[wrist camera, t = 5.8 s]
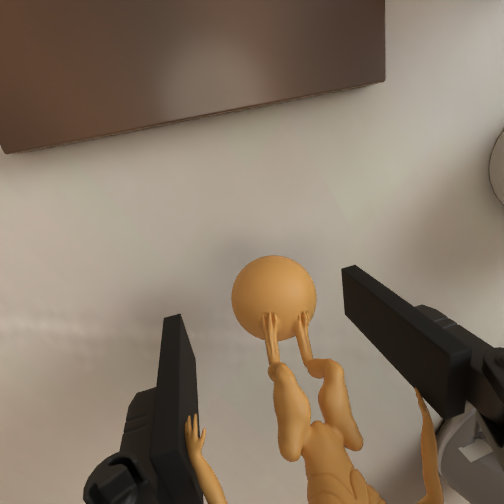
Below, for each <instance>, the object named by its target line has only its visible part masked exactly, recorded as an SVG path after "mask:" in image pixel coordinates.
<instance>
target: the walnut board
mask: <svg viewBox="0 0 504 504" xmlns="http://www.w3.org/2000/svg"><path fill="white" fill-rule="evenodd" d="M384 81H385V0H0V145H1V147H2V149H3V151H4V153H5V154H15V153H23V152H28V151H33V150H38V149H44V148H49V147H54V146H59V145H64V144H69V143H75V142H80V141H85V140H90V139H95V138H100V137H106V136H111V135H116V134H121V133H126V132H131V131H137V130H142V129H147V128H152V127H157V126H162V125H168V124H173V123H178V122H183V121H188V120H193V119H199V118H204V117H209V116H214V115H219V114H224V113H230V112H235V111H240V110H245V109H250V108H255V107H261V106H266V105H271V104H276V103H281V102H286V101H292V100H297V99H302V98H307V97H312V96H317V95H323V94H328V93H333V92H338V91H343V90H348V89H354V88H359V87H364V86H369V85H373V84H377V83H380V82H384Z"/></svg>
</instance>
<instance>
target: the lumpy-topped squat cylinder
mask: <svg viewBox="0 0 504 504" xmlns="http://www.w3.org/2000/svg"><path fill="white" fill-rule="evenodd" d="M489 175H490V181H491V184H492V187H493V190H494V192H495V194H496V196H497V197H498V199H499V200H500V201H501V202H502V203H503V204H504V130H503V132H502V133H501V135H500V137H499V138H498V140H497V142H496V144H495V146H494V149H493V152H492V155H491V159H490V166H489Z"/></svg>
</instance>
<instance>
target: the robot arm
mask: <svg viewBox="0 0 504 504" xmlns="http://www.w3.org/2000/svg"><path fill="white" fill-rule="evenodd" d="M341 271H342V284H343V296H344V309H345V315H346V316H347V317H348V318H349V319H350V320H351V321H352V322H353V323H354V324H355V325H356V327H357V328H358V329H359V330H360V331H361V332H362V333H363V334H364V335H365V336H366V337H367V338H368V339H369V340H370V341H371V343H372V344H373V345H374V346H375V347H376V348H377V349H378V350H379V351H380V352H381V353H382V354H383V355H384V356H385V358H386V359H387V360H388V361H389V362H390V363H391V364H392V365H393V366H394V367H395V368H396V369H397V370H398V371H399V372H400V374H401V375H402V376H403V377H404V378H405V379H406V380H407V381H408V382H409V383H410V384H411V385H412V386H413V387H414V388H417V389H418V391H419V392H420V394H421V396H422V397H423V398H424V399H425V400H426V401H427V402H428V403H429V404H430V406H431V407H432V408H433V409H434V410H435V411H436V412H437V413H438V414H439V415H440V416H441V417H442V418H443V419H444V420H446V421H445V422H444V423H443V425H442V426H441V428H440V429H439V431H438V433H437V435H436V441H437V451H438V472H439V474H440V475H441V476H442V478H443V479H444V480H445V481H446V482H447V483H448V484H449V485H450V486H451V487H452V488H453V489H454V490H455V491H456V492H458V493H459V494H460V495H461V496H462V497H464V498H465V499H466V500H467V501H469V502H470V503H471V504H504V348H501V347H498V348H493V347H492V346H490V345H489V344H487V343H486V342H484V341H483V340H481V339H480V338H478V337H477V336H475V335H474V334H472V333H471V332H469V331H468V330H466V329H465V328H463V327H462V326H460V325H457V323H456V322H454V321H453V320H451V319H450V318H449V319H448V317H447V316H445V315H444V314H442V313H441V312H439V311H438V310H436V309H433V308H431V307H428V306H425V305H419V306H416V307H413V306H412V305H411V304H409V303H408V302H407V301H405V300H404V299H402V298H401V297H400V296H398V295H397V294H395V293H394V292H393V291H391V290H390V289H388V288H387V287H386V286H384V285H383V284H381V283H380V282H379V281H377V280H376V279H374V278H373V277H372V276H370V275H369V274H367V273H366V272H365V271H363V270H362V269H360V268H359V267H358V266H356V265H353V266H349V267H346V268H342V269H341ZM195 414H197V426H198V438H200V431H199V413H198V395H197V377H196V360H195V356H194V353H193V350H192V347H191V344H190V341H189V338H188V335H187V332H186V329H185V326H184V323H183V320H182V317H181V314H177V315H173V316H170V317H166V318H164V322H163V331H162V340H161V349H160V358H159V368H158V377H157V386H156V387H155V388H151V389H148V390H145V391H142V392H138V393H137V394H136V395H135V397H134V398H133V400H132V402H131V403H130V405H129V407H128V412H127V417H126V422H125V427H124V434H123V437H122V441H121V446H120V451H119V452H118V453H115V454H113V455H111V456H109V457H107V458H106V459H105V460H104V461H102V462H101V463H100V464H99V465H98V466H97V467H96V468H95V469H94V471H93V472H92V473H91V475H90V476H89V478H88V480H87V482H86V485H85V487H84V493H83V500H84V501H85V503H86V504H204V502H203V492H202V490H201V488H200V485H199V482H198V479H197V475H196V472H195V470H194V468H193V466H192V463H191V461H190V459H189V455H188V451H187V447H186V441H185V429H184V428H185V422H187V419H188V416H190V418H191V426H192V431H193V421H194V415H195Z"/></svg>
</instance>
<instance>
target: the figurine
mask: <svg viewBox="0 0 504 504" xmlns="http://www.w3.org/2000/svg"><path fill="white" fill-rule="evenodd" d="M231 299H232V307H233V311H234V314H235V316H236V318H237V320H238V322H239V323H240V324H241V326H242V327H243V328H244V329H245V330H246V331H247V332H249V333H250V334H251V335H253V336H255V337H257V338H259V339H262V340H265V343H266V349H267V355H268V361H269V365H270V366H269V368H268V374H269V377H270V378H271V380H272V381H274V393H273V399H274V408H275V412H276V416H277V421H278V444H279V449H280V453H281V455H282V456H283V457H284V458H285V459H286V460H287V461H290V462H295V461H297V460H298V459H299V457H300V455H302V456H303V458H304V460H305V468H306V475H307V479H308V487H307V499H308V502H309V504H386V502H385V501H384V500H383V499H382V498H380V494H379V493H378V492H377V491H376V490H375V489H374V488H373V487H372V486H370V485H367V482H366V481H365V479H364V477H363V476H362V474H361V473H360V472H359V471H358V470H357V469H355V468H354V466H353V464H352V462H351V460H350V458H349V456H348V454H347V452H346V450H345V448H344V447H346V448H348V449H350V450H352V451H359V450H361V449H362V446H363V438H362V436H361V434H360V432H359V430H358V427H357V424H356V422H355V420H354V418H353V416H352V413H351V407H350V403H349V397H348V392H347V388H346V385H345V381H344V370H343V368H342V366H341V365H340V364H338V363H337V362H335V361H333V360H332V359H313V355H312V351H311V346H310V341H309V337H308V326H309V322H310V321H311V319H312V317H313V315H314V312H315V308H316V290H315V286H314V283H313V281H312V279H311V277H310V275H309V274H308V272H307V271H306V270H305V269H304V268H303V267H302V266H301V265H300V264H298V263H297V262H295V261H293V260H291V259H289V258H286V257H283V256H264V257H261V258H258V259H256V260H254V261H252V262H250V263H249V264H248V265H246V266H245V267H244V268H243V269H242V270H241V272H240V273H239V274H238V276H237V278H236V280H235V282H234V285H233V289H232V297H231ZM294 336H296V338H297V342H298V345H299V349H300V353H301V357H302V360H303V363H304V365H305V367H306V368H307V369H308V372H309V374H310V375H311V376H312V377H315V378H319V379H320V378H323V377H324V384H323V386H322V387H321V389H320V391H319V394H318V402H319V406H320V409H321V412H322V415H323V418H324V420H325V424H324V423H322V422H321V421H314V422H313V423H312V424H311V425H310V419H311V409H310V404H309V401H308V398H307V396H306V395H305V393H304V392H303V391H302V389H301V388H300V387H299V385H298V383H297V381H296V378H295V376H294V374H293V372H292V371H291V370H290V369H289V368H288V367H287V365H286V364H285V363H281V362H280V355H279V349H278V341H282V340H286V339H289V338H292V337H294ZM415 391H416V396H417V398H418V404H419V407H420V409H421V412H422V416H423V427H422V434H421V456H422V463H423V480H424V484H425V487H426V495H425V496H424V497H423V498H422V499H421V500H420V501H419V502H418V503H417V504H444V499H443V493H442V488H441V484H440V480H439V475H438V451H437V441H436V437H435V433H434V427H433V422H432V419H431V416H430V413H429V411H428V409H427V407H426V405H425V403H424V401H423V398H422V396H421V394H420V392H419V391H418V389H417V388H415ZM184 429H185V441H186V447H187V451H188V455H189V459H190V461H191V463H192V466H193V468H194V470H195V472H196V475H197V479H198V482H199V485H200V488H201V490H202V492H203V494H204V496H205V498H206V500H207V502H208V504H228V503H227V501H226V498H225V496H224V493H223V490H222V487H221V485H220V483H219V481H218V479H217V477H216V475H215V473H214V471H213V470H212V468H211V467H210V466H209V464H208V463H207V461H206V460H205V459H204V458H203V456H202V453H201V449H202V446H203V444H204V440H205V435H206V430H205V428H204V429H203V431H202V435H201V437H200V438H198V426H197V414H195V415H194V421H193V431H192V426H191V418H190V416H188V419H187V422H185V428H184Z"/></svg>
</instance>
